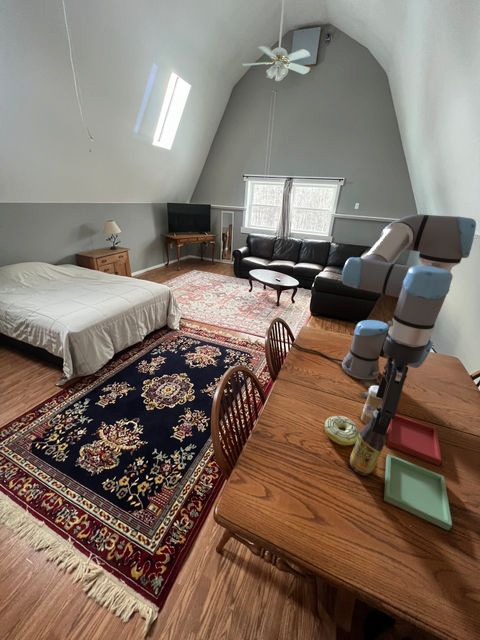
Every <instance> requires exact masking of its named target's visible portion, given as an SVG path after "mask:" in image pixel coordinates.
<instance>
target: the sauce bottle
mask: <svg viewBox="0 0 480 640" xmlns="http://www.w3.org/2000/svg"><path fill="white" fill-rule="evenodd" d="M377 413H378V411H377V410H375V411H374V412H373V413H372V416H371V417H372V418H371V420H370V422H369V424H365V425H364V426H363V427H362V429H361V430H360V433H359V436H358V438H357V441H356V443H355V444H354V446H353V449H352V452H351V453H350V457H349V465H350V467H351V469H352V470H353V471H354V472H356V473H357V474H358V475H361V476H369V475H371V474H372V472H373V471H374V470H375V467H376V465H377V463H378V461H379V458H380V456H381V454H382V452H383V449H384V447H385V445H386V443H387V434H385V436H383V435H381V434H378V433H375V432H373V431H372V428H373V425H374V422H375V419H376V416H377Z"/></svg>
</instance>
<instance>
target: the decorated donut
mask: <svg viewBox="0 0 480 640" xmlns="http://www.w3.org/2000/svg"><path fill="white" fill-rule="evenodd" d="M323 427H324V431H325V434H326V435H327V437H328V438H329V440H331V441H332V442H333V443H335V444H337V445H340V446H344V447H349V446H352V445H355V443H356V441H357V438H358V436H359V433H360V432H361V430H360V429H359V427H358V426H357V424H356V423H355V422H354V421H352V420H351V419H350V418H348V417H346V416H344V415H332V416H330V417H328V418H327V419H326V420H325V422H324V426H323Z"/></svg>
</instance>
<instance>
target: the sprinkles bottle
mask: <svg viewBox="0 0 480 640" xmlns="http://www.w3.org/2000/svg"><path fill="white" fill-rule="evenodd" d="M369 388H370V389H369ZM369 388H368V389H369V390H368V391H369V395H368V397H367V399H365V400H366V401H365V403H364V406H363V409H362V413H361V415H360V421H362V423H364V424H365V425H367V424H369V422H370V420H371V418H372V417H371V416H372V413H373V412H374V411H375V410H376V409H377V408H381V405H382V401H383V399H381V398H378V397H376V394H377V391H378V388H379V386H375V385H374V386H371V387H369Z"/></svg>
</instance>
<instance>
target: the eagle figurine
mask: <svg viewBox="0 0 480 640" xmlns="http://www.w3.org/2000/svg"><path fill="white" fill-rule="evenodd" d="M380 382H381V380H379V377H378V378H377V379H376V381H375V380H372V379H364V380H360V381H359V384H360V386H364V387H367V388H368V389H367V391H365V392H362V393H361V396H362V398H363V399H365V400H367V397H368V395H369V389H370V387H371V386H374V385H375V386H379V385H380Z"/></svg>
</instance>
